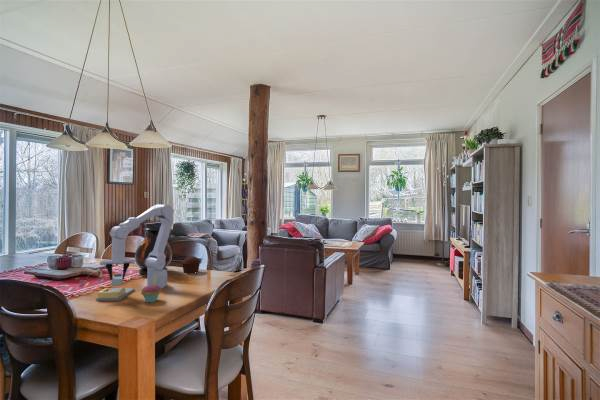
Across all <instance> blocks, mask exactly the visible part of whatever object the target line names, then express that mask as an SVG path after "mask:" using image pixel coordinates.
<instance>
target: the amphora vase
mask: <svg viewBox="0 0 600 400" xmlns="http://www.w3.org/2000/svg"><path fill="white" fill-rule="evenodd" d="M160 227H161V226H160ZM160 227H158V226H156V227H153V226H152V227H151V226H149V227H144V228H143V231H144V232H146V237H145V238H144V239H143V240H142V241H141V242H140V243H139V244H138V246H137V248H136V249H135V254H134V259H135V265H137V267H139V269H138V273H140V274H141V275H144V274H146V275H147V273H148V269H147V267H146V265H145V260H146V259H147V258H148V256H149V253H151V252H152V251H153V249H154V246H155V243H156V239H157V236H158V233H159V230H160ZM164 254H165V256H166V258H165V266H164V268H163V270H167V271H168V268H167V267H168V265H170V263H171V262H172V259H173V251H172V248H171V245H170V244H169V242H168V241H167V243H166V247H165V250H164Z"/></svg>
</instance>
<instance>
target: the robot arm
mask: <svg viewBox="0 0 600 400" xmlns="http://www.w3.org/2000/svg"><path fill="white" fill-rule="evenodd" d="M174 211H175V210H174V208H173V207H172V206H171V205H170V204H160V203H156V204H154V205H153V206H150V207H149V208H148V209H146V211H144V212H143V213H141V214H140V215H138V216H137V217H135V216H134V217H128V218H127V220H126V221H125V220H124V222H121V223H119V224H118V225H117V226H116V225H115V226H113V227H112V228H111V229H110V231H109V236H110V237H111V251H110V252H111V257H110V258H111V259H107V260H100V261H99V266H101V267H102V266H105V268H106V270H107V272H108V275H109V278H110V279H109V280H110V281H112V277H113V265H123V266H122V267H123V268H122V269H123V270H122V275H123V280H125V278H126V276H125V275H126V273H127V270H128V268H129V267H130V265H131V264H134V265H136V262H135V258H126V238H127V237H128V236H129V234H131V232H134V231H135V230H136V229H138V228H140V226H141V223H144V222H145V221H147V220H148V219H151V218H152V217H154V216H155V217H157V218H158V219H159V220H160V222H161V225H160V230H159V233H158V236H157V239H156V243H155V246H154V249H153V251H152V252H151V253H149V256H148V258H147V259H146V260H145V265H146V267H147V269H148V273H147V279H146V281H147V282H146V285H145V286H144V287H147V286H149V285H154V279H155V276H157V277H156V282H155V285H157V286H160V288H161V289H163V288H165V287H166V286H168V269H167V270H163V268H164V266H165V258H166V256H165V254H164V250H165V247H166V243H167V242H168V240H169V236H170V234H171V229H172V226H173V223H174ZM156 274H157V275H156Z"/></svg>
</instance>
